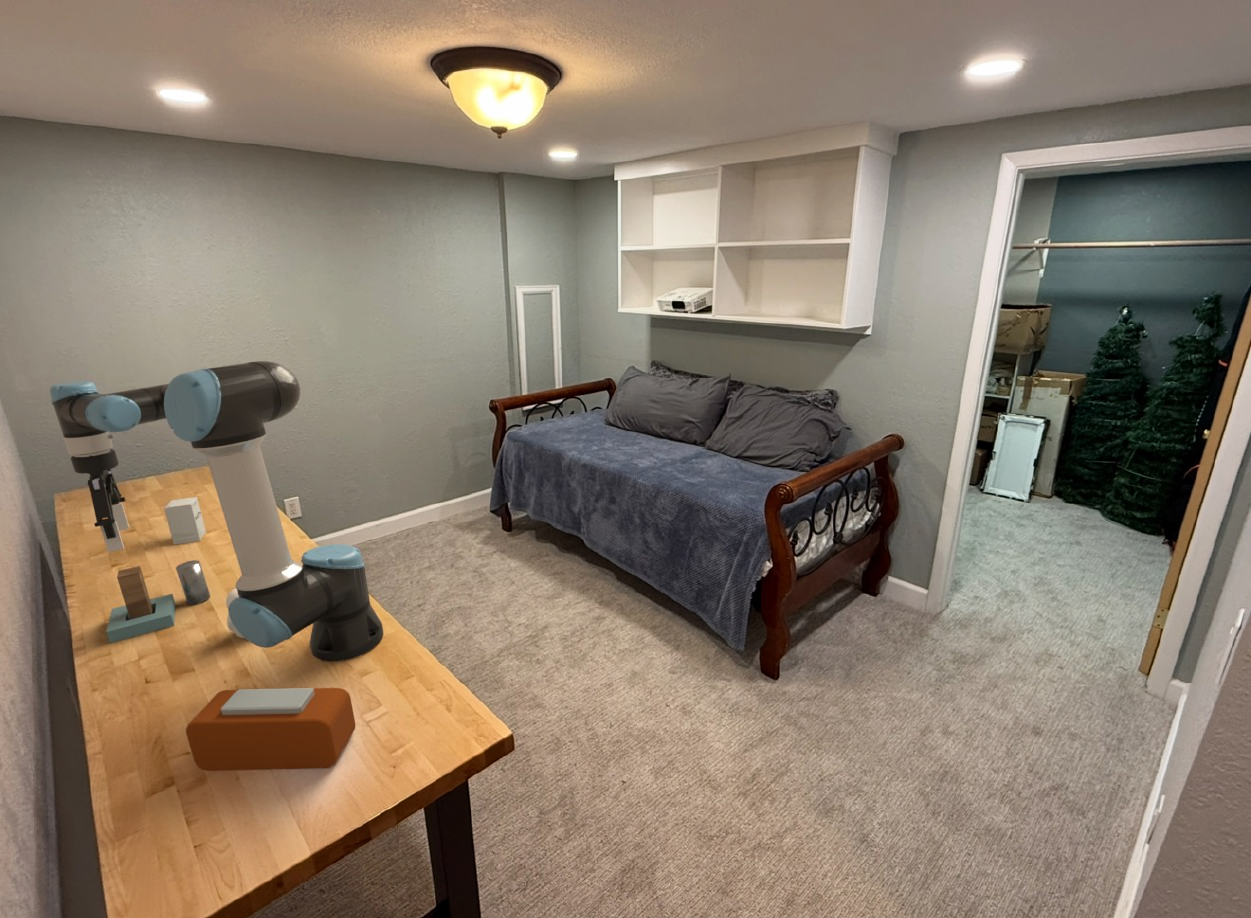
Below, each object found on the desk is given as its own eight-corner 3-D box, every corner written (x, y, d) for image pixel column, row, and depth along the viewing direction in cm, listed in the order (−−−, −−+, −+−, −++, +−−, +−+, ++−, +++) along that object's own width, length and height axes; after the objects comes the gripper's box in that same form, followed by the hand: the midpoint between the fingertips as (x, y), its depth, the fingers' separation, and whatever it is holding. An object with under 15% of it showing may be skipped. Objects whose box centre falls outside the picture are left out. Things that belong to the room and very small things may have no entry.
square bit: (154, 623, 143) (138, 572, 139) (133, 629, 141) (116, 577, 137) (155, 616, 146) (140, 565, 142) (134, 621, 144) (118, 570, 140)
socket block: (174, 625, 142) (171, 614, 142) (109, 643, 136) (106, 631, 135) (175, 603, 152) (172, 593, 151) (115, 619, 145) (111, 608, 144)
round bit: (212, 598, 154) (201, 564, 150) (189, 606, 150) (177, 572, 147) (207, 591, 157) (197, 558, 154) (185, 599, 154) (174, 565, 151)
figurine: (228, 643, 135) (216, 597, 132) (239, 625, 142) (228, 580, 139) (262, 638, 137) (252, 592, 133) (272, 620, 144) (262, 576, 140)
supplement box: (200, 541, 187) (191, 504, 184) (173, 545, 185) (162, 507, 181) (206, 532, 194) (197, 496, 190) (180, 535, 191) (170, 499, 188)
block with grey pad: (358, 732, 109) (348, 680, 105) (337, 769, 101) (326, 714, 97) (227, 735, 108) (213, 683, 105) (196, 772, 101) (179, 717, 97)
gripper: (107, 462, 123) (135, 554, 129) (119, 437, 142) (143, 518, 149) (59, 469, 119) (90, 564, 125) (78, 442, 138) (104, 525, 145)
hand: (119, 539), depth 137 cm, fingers open, 13 cm apart
